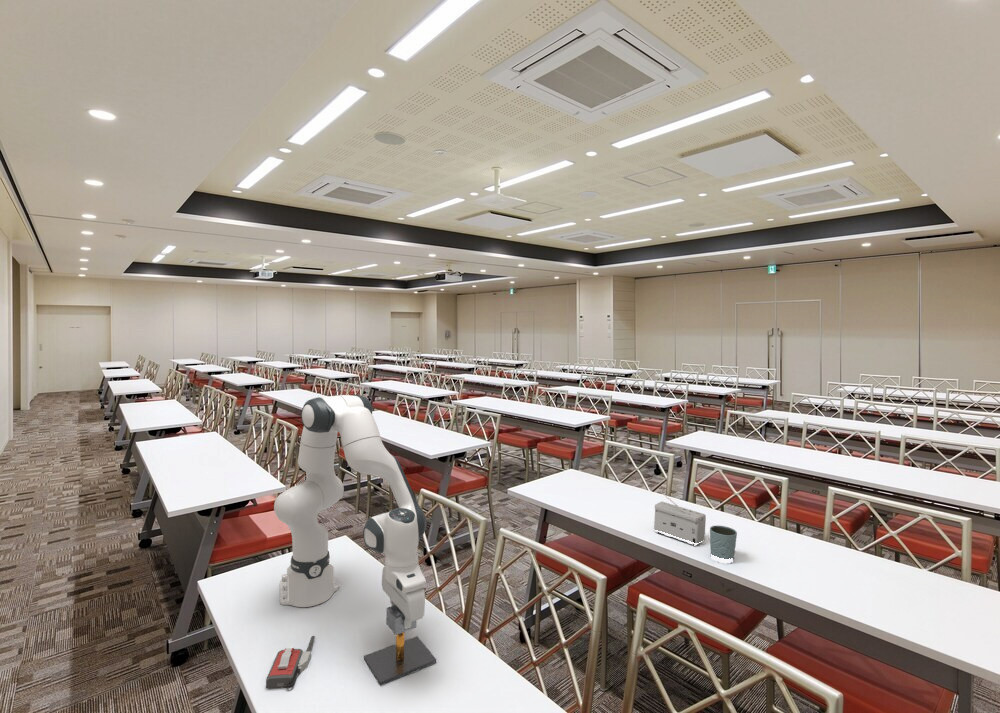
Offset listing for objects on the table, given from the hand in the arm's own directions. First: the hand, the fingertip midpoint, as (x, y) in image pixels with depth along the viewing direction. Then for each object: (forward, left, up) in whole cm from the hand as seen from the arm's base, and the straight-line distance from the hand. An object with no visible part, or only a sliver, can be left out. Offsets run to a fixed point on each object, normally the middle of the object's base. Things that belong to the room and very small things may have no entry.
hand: (401, 620), depth 135 cm
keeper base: (0, 0, -12) cm, 12 cm away
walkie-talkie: (-15, -25, -12) cm, 31 cm away
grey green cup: (+13, +134, -12) cm, 135 cm away
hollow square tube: (0, 0, -2) cm, 2 cm away
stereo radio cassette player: (-9, +136, -12) cm, 137 cm away
